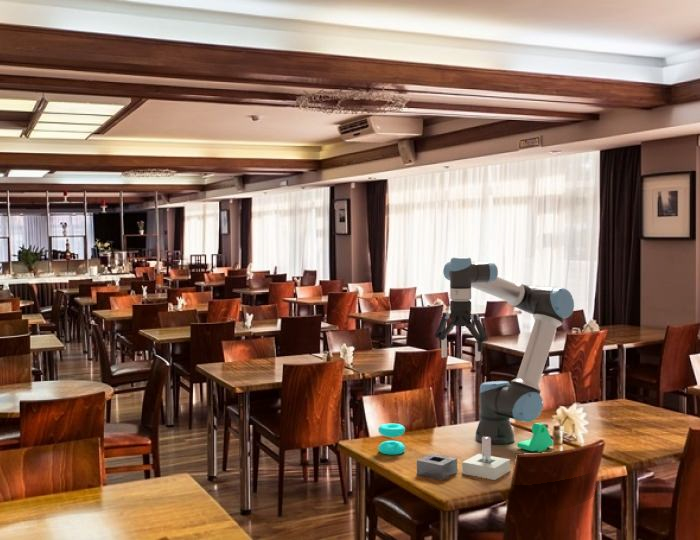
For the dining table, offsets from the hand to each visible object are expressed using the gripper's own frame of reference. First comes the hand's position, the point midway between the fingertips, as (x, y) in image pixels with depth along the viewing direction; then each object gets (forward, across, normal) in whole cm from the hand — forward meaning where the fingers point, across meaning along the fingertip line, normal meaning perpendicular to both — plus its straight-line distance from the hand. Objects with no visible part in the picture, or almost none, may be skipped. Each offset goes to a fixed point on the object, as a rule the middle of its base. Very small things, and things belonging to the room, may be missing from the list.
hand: (460, 359), depth 269 cm
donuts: (+37, -26, -6) cm, 46 cm away
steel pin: (+37, +14, -8) cm, 40 cm away
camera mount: (+37, +16, +29) cm, 50 cm away
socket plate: (+37, +14, -8) cm, 40 cm away
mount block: (+37, +1, -19) cm, 41 cm away
